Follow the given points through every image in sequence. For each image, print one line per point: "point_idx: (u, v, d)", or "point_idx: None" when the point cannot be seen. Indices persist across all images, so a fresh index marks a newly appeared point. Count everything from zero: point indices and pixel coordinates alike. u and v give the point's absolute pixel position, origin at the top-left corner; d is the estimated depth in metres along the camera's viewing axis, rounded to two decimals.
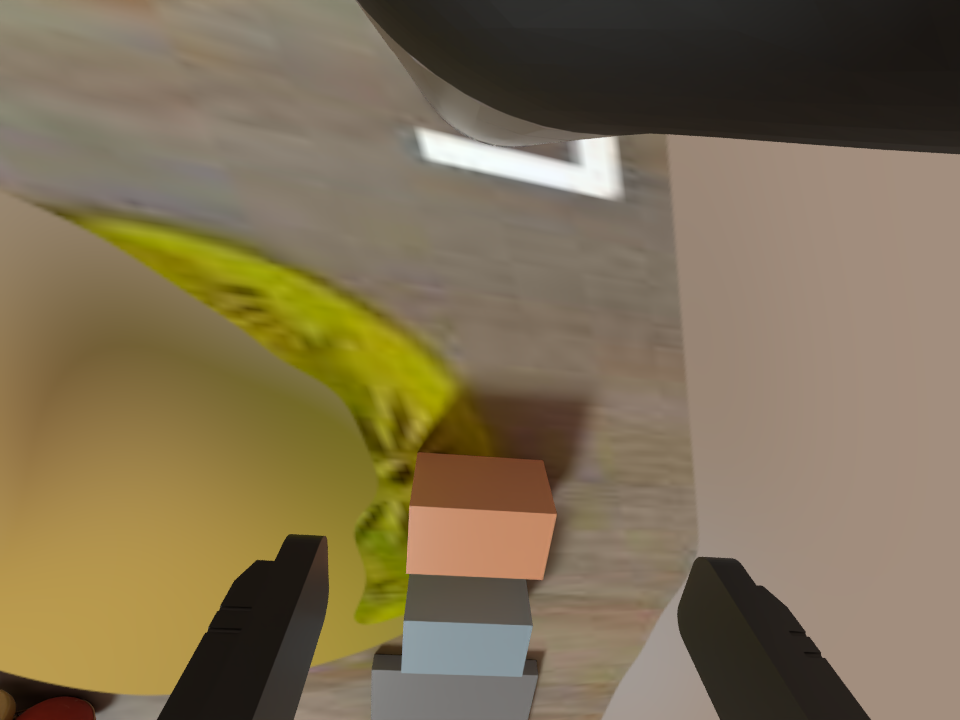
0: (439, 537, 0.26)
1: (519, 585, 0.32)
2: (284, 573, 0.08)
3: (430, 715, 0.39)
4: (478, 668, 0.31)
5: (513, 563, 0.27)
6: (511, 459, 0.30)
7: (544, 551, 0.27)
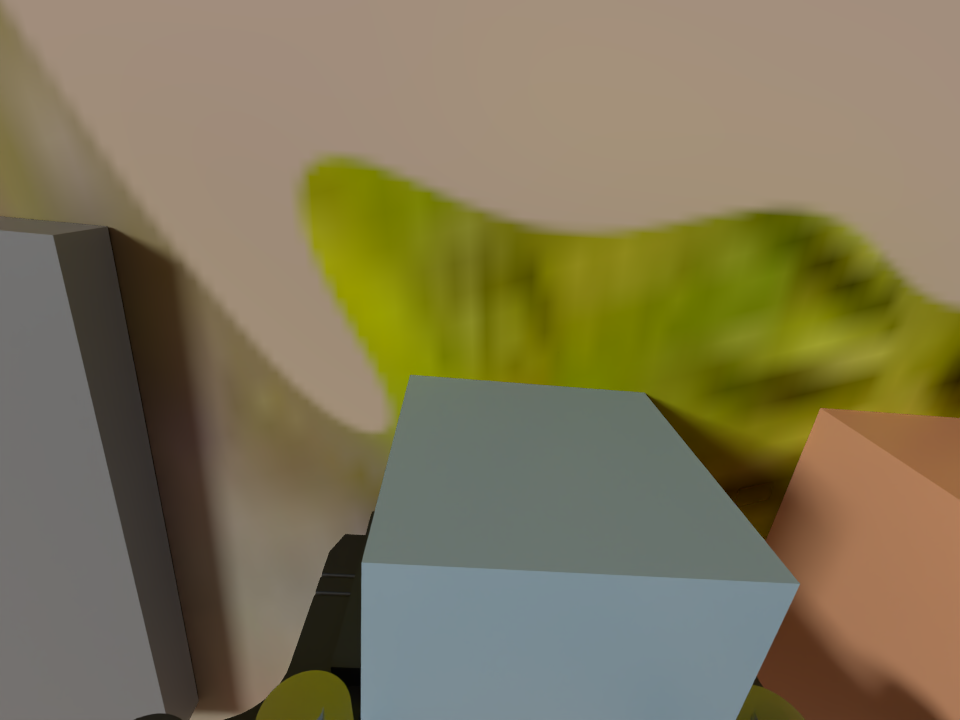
0: None
1: None
2: None
3: None
4: None
5: None
6: None
7: None
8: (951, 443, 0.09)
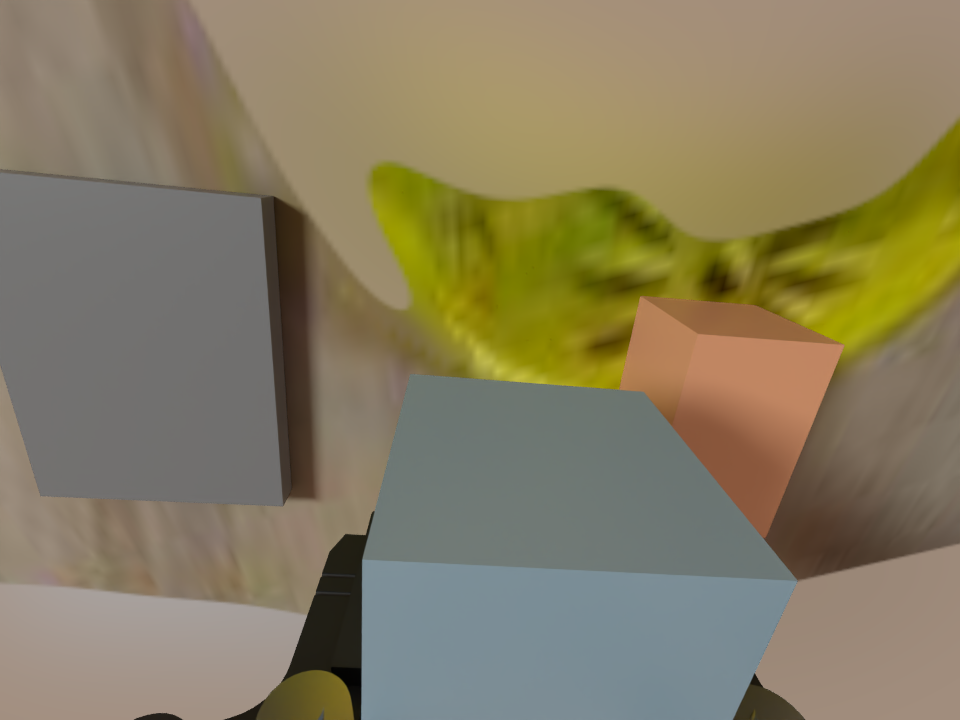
0: (765, 389, 0.16)
1: None
2: None
3: (113, 321, 0.17)
4: None
5: None
6: None
7: None
8: (697, 307, 0.18)
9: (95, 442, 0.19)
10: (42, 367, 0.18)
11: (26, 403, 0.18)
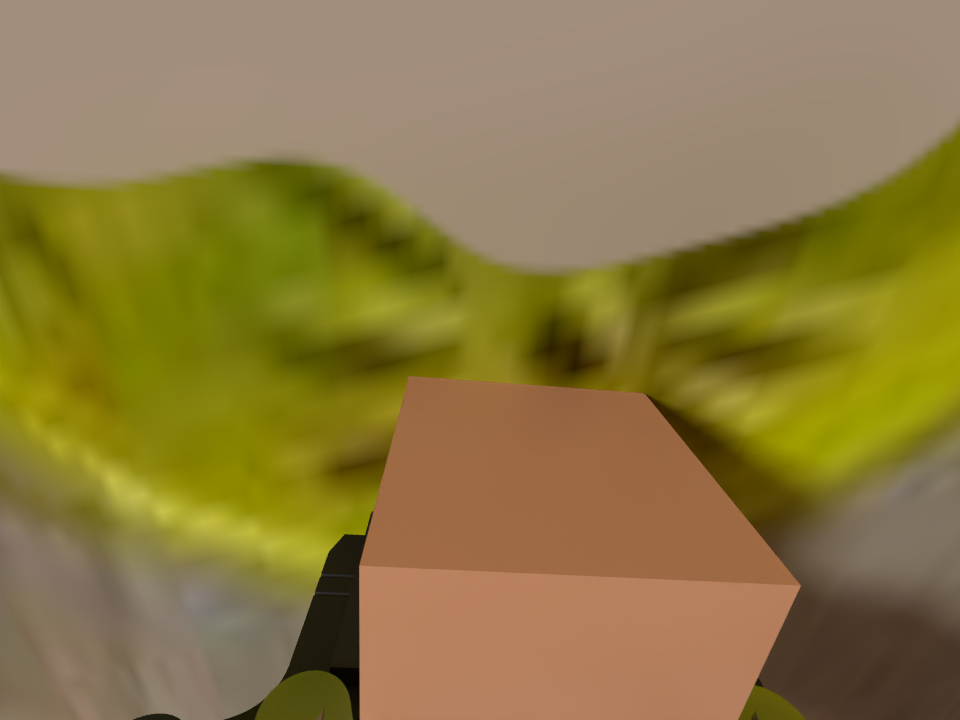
0: (590, 683, 0.06)
1: None
2: None
3: None
4: None
5: None
6: None
7: None
8: (501, 414, 0.08)
9: None
10: None
11: None
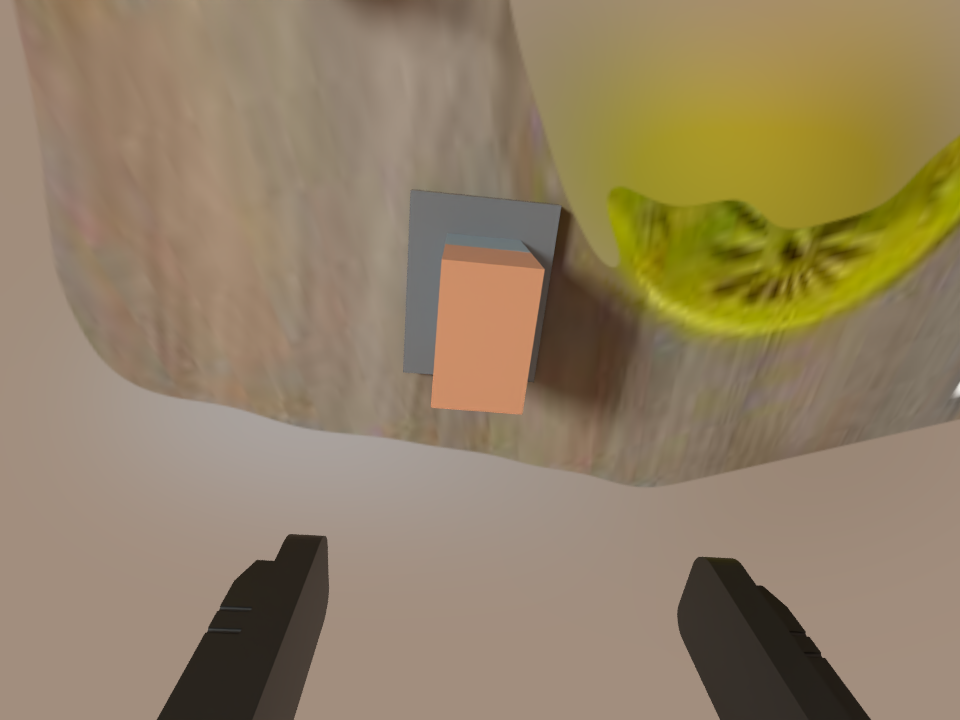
0: (496, 300, 0.23)
1: None
2: (284, 573, 0.08)
3: None
4: None
5: (455, 377, 0.25)
6: None
7: (473, 407, 0.25)
8: (477, 250, 0.26)
9: None
10: (427, 295, 0.33)
11: (412, 316, 0.34)
